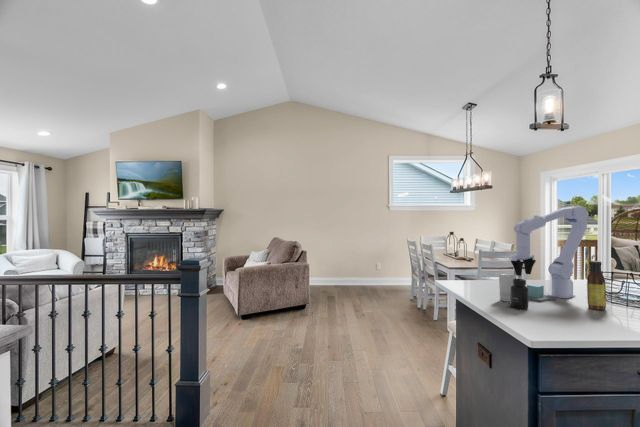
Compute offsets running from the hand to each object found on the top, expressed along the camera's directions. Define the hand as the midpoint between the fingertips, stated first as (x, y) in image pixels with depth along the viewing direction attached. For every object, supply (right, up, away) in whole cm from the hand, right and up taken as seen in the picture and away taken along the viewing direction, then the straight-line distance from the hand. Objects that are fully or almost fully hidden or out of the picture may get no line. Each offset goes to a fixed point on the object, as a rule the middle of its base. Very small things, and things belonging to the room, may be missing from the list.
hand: (523, 274), depth 177 cm
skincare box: (-12, -11, -9) cm, 18 cm away
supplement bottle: (-13, -11, -21) cm, 27 cm away
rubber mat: (+3, -10, -4) cm, 12 cm away
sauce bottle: (+18, -11, -23) cm, 31 cm away
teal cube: (+3, -9, -4) cm, 11 cm away
